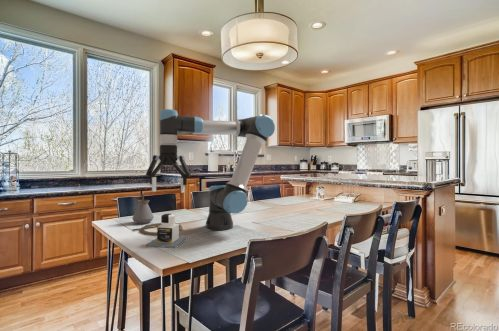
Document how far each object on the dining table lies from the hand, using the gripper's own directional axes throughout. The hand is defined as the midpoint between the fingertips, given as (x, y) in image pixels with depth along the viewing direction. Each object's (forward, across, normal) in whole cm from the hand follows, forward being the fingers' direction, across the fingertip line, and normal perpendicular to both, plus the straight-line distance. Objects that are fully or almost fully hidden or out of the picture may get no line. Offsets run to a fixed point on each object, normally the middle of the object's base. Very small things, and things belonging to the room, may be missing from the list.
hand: (168, 192), depth 125 cm
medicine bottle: (+22, 0, 0) cm, 22 cm away
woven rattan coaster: (+23, +12, -19) cm, 32 cm away
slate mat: (+23, 0, 0) cm, 23 cm away
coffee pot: (+23, +32, -36) cm, 53 cm away
